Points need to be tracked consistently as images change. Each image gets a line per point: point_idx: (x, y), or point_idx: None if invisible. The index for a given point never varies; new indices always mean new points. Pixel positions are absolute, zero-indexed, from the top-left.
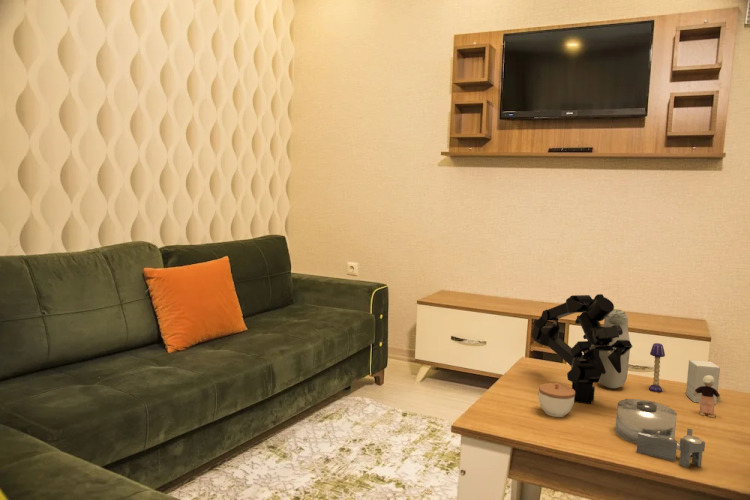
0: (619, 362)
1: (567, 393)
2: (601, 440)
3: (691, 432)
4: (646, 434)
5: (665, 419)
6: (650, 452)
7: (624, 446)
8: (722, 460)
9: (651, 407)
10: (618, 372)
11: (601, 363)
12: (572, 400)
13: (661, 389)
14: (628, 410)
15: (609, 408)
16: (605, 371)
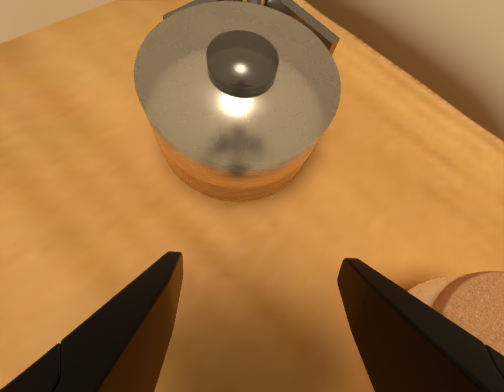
0: (106, 325)
1: (496, 289)
2: (367, 139)
3: (185, 6)
4: (319, 30)
5: (249, 3)
6: None
7: None
8: (163, 11)
9: (247, 35)
10: (180, 279)
11: (434, 327)
12: (437, 283)
13: None
14: (322, 76)
15: (177, 352)
16: (353, 260)
